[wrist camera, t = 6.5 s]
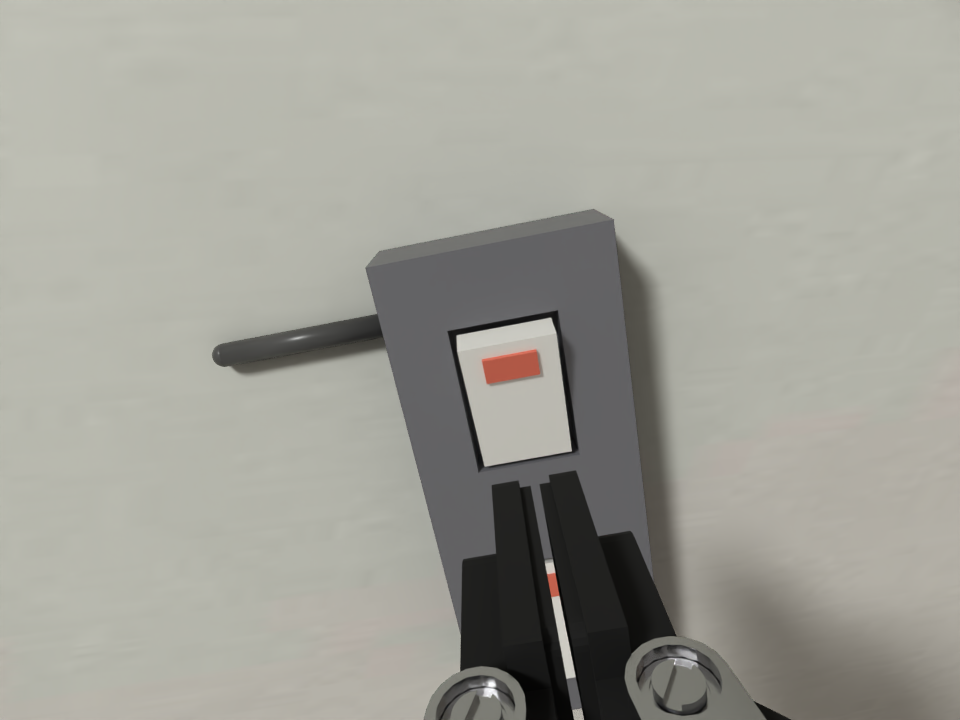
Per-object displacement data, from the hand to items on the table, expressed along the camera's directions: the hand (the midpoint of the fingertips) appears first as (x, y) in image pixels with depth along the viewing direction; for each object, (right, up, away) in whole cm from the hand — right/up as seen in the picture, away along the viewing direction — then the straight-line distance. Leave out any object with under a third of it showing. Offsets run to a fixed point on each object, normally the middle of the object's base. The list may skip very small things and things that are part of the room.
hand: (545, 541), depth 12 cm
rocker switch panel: (-3, -2, +17) cm, 17 cm away
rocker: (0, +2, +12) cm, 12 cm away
